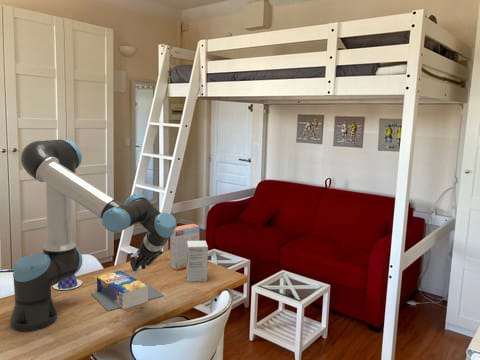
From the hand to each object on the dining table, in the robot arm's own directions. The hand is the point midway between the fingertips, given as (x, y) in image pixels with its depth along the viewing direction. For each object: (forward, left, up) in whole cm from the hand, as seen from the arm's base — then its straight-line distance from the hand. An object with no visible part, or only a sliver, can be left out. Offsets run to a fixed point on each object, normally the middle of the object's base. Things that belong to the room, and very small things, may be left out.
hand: (134, 272), depth 164 cm
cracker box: (+37, +23, -12) cm, 45 cm away
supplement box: (+34, +7, -12) cm, 37 cm away
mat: (0, +7, -12) cm, 14 cm away
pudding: (-17, +31, -13) cm, 38 cm away
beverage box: (-1, -4, -9) cm, 10 cm away
